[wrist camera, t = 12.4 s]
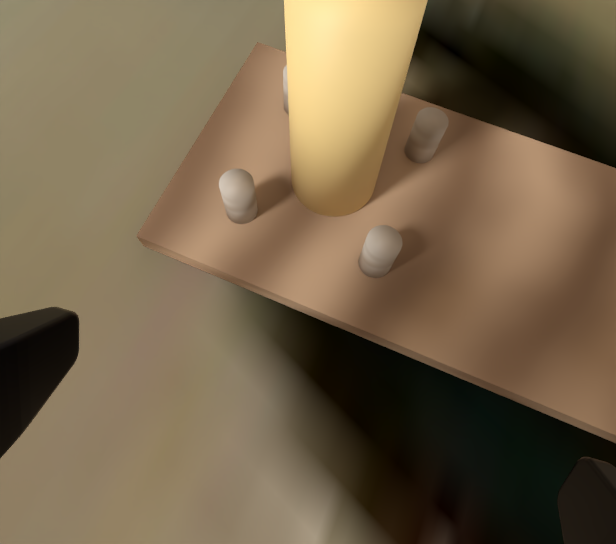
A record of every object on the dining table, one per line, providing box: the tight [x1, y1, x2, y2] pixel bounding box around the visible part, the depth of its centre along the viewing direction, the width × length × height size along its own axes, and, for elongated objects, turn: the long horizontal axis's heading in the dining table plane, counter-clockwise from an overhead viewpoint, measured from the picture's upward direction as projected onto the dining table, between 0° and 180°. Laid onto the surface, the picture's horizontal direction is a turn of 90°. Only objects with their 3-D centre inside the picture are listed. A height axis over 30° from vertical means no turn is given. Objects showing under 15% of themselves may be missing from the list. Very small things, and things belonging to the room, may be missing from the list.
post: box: [284, 0, 427, 217], centre depth 19 cm, size 4×4×11 cm
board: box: [137, 42, 616, 443], centre depth 23 cm, size 26×14×4 cm, turn 67°
